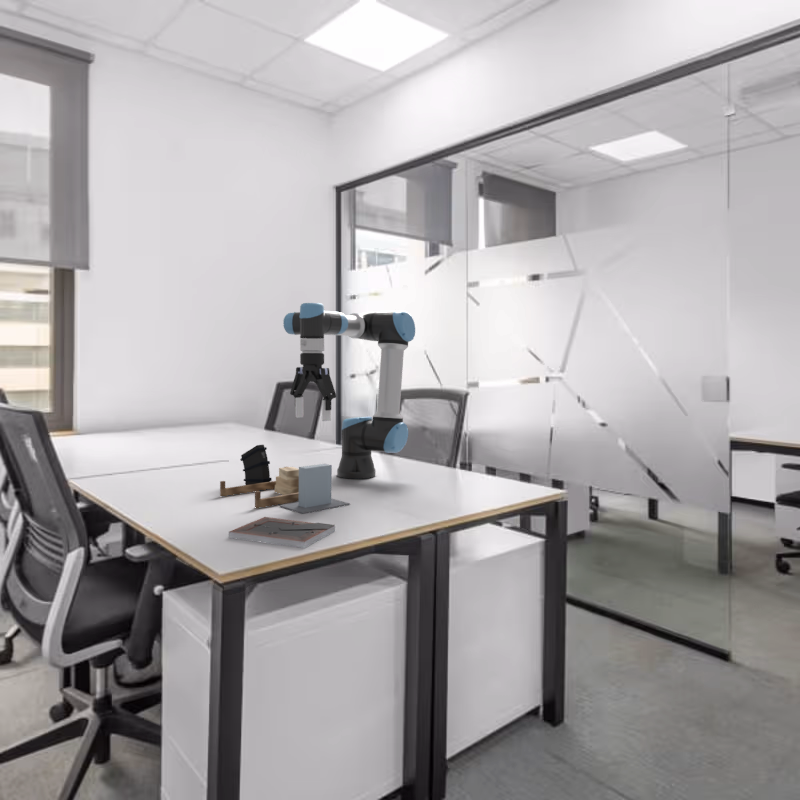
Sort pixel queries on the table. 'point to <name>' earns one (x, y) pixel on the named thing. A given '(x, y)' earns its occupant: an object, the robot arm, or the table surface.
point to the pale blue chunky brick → (315, 485)
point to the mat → (314, 508)
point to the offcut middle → (287, 483)
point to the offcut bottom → (285, 490)
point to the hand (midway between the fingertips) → (312, 419)
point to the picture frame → (283, 532)
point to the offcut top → (289, 473)
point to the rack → (259, 493)
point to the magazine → (256, 465)
